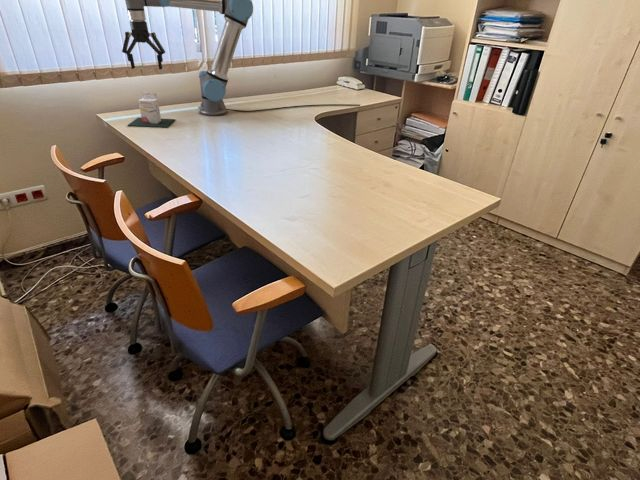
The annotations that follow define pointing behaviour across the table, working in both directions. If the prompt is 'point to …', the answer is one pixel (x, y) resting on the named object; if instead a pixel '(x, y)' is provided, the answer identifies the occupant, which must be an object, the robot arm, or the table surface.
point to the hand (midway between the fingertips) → (147, 68)
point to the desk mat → (162, 124)
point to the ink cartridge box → (149, 108)
